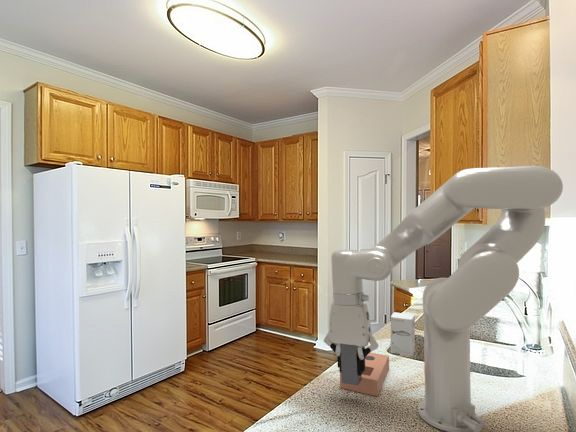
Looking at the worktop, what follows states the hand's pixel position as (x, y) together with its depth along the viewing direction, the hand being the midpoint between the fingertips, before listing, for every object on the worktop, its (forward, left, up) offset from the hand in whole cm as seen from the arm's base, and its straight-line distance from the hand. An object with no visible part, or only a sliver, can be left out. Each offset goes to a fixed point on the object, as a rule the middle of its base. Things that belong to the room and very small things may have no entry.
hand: (351, 371), depth 82 cm
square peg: (0, 0, -2) cm, 2 cm away
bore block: (+10, -10, -7) cm, 16 cm away
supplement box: (+23, -33, -7) cm, 41 cm away
